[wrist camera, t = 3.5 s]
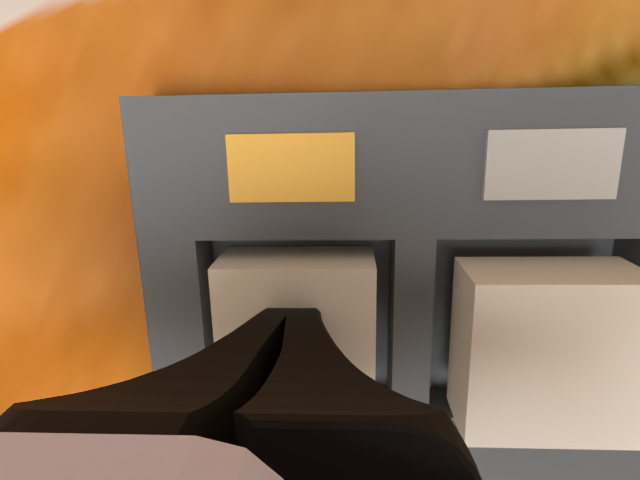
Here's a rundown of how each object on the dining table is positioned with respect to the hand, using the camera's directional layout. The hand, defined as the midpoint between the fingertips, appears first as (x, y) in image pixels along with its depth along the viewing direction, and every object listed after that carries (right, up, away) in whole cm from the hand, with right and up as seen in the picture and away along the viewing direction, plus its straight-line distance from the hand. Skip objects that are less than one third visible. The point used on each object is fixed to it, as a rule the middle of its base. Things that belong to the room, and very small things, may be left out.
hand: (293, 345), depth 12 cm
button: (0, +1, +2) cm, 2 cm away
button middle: (+6, 0, +1) cm, 6 cm away
